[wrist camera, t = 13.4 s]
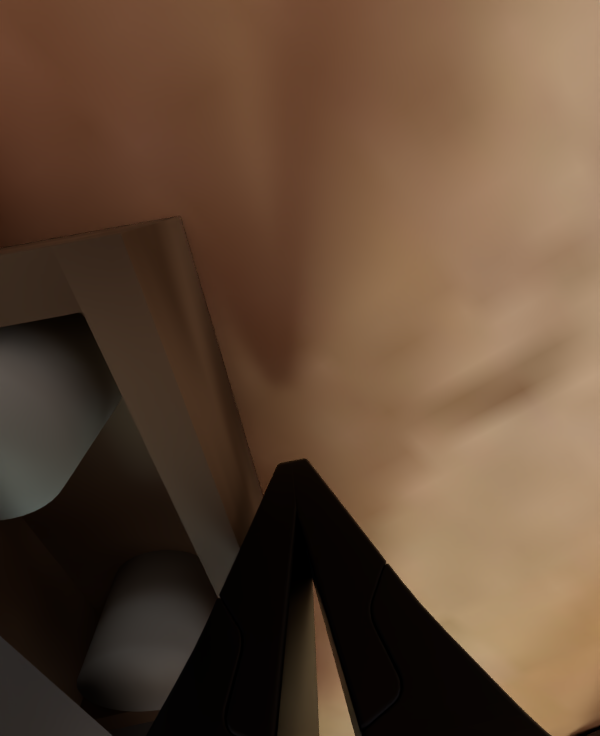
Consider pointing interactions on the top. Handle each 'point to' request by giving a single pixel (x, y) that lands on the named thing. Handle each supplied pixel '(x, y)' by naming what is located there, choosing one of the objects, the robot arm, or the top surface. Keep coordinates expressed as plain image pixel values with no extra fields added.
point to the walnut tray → (114, 464)
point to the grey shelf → (43, 704)
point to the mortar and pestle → (594, 733)
